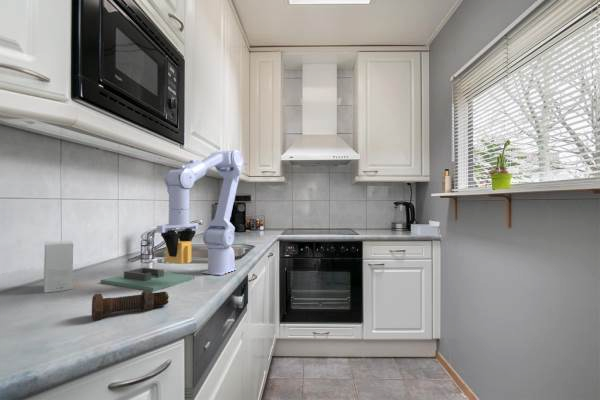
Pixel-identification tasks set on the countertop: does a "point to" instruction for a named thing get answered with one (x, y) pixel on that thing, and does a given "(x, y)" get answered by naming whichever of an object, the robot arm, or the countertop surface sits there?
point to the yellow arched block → (181, 253)
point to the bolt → (127, 303)
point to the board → (147, 279)
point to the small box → (58, 266)
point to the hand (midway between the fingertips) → (178, 255)
